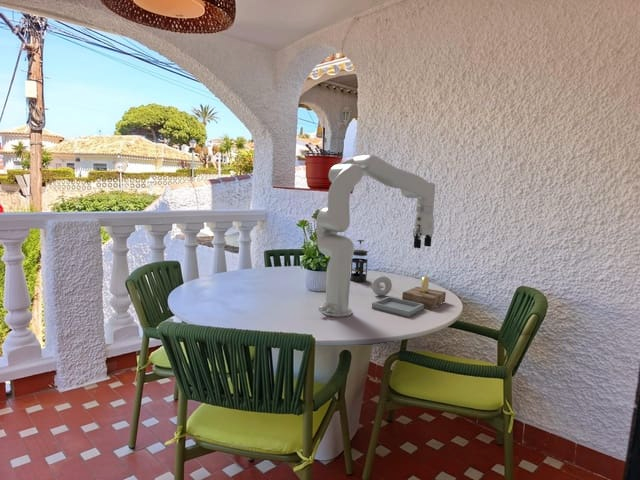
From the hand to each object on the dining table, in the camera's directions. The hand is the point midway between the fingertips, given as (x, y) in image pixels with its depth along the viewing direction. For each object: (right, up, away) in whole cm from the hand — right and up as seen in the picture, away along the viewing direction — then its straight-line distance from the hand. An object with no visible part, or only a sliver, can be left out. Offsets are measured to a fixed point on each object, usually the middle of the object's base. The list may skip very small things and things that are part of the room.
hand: (422, 247), depth 177 cm
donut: (-17, -24, +10) cm, 31 cm away
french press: (-25, -20, +40) cm, 51 cm away
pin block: (+1, -26, +1) cm, 26 cm away
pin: (+1, -26, +1) cm, 26 cm away
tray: (-14, -27, -11) cm, 32 cm away
